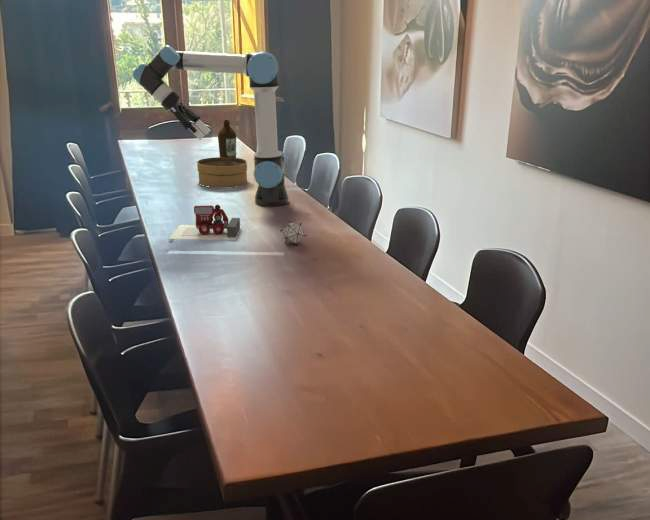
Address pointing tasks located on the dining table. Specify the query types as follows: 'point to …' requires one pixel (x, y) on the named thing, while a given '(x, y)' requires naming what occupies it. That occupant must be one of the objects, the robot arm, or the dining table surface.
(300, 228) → the geodesic ball
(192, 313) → the dining table surface
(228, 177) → the steamer basket
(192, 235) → the mat
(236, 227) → the grey rectangular block
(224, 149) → the olive oil
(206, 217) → the red toy car
